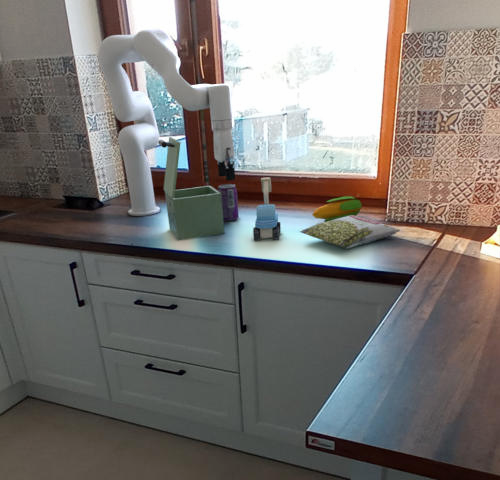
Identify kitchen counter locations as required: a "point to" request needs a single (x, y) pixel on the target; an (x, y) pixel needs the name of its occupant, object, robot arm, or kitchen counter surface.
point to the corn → (338, 209)
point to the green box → (195, 212)
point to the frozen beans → (350, 231)
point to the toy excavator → (266, 216)
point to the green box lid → (171, 165)
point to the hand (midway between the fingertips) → (226, 177)
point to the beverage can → (229, 202)
